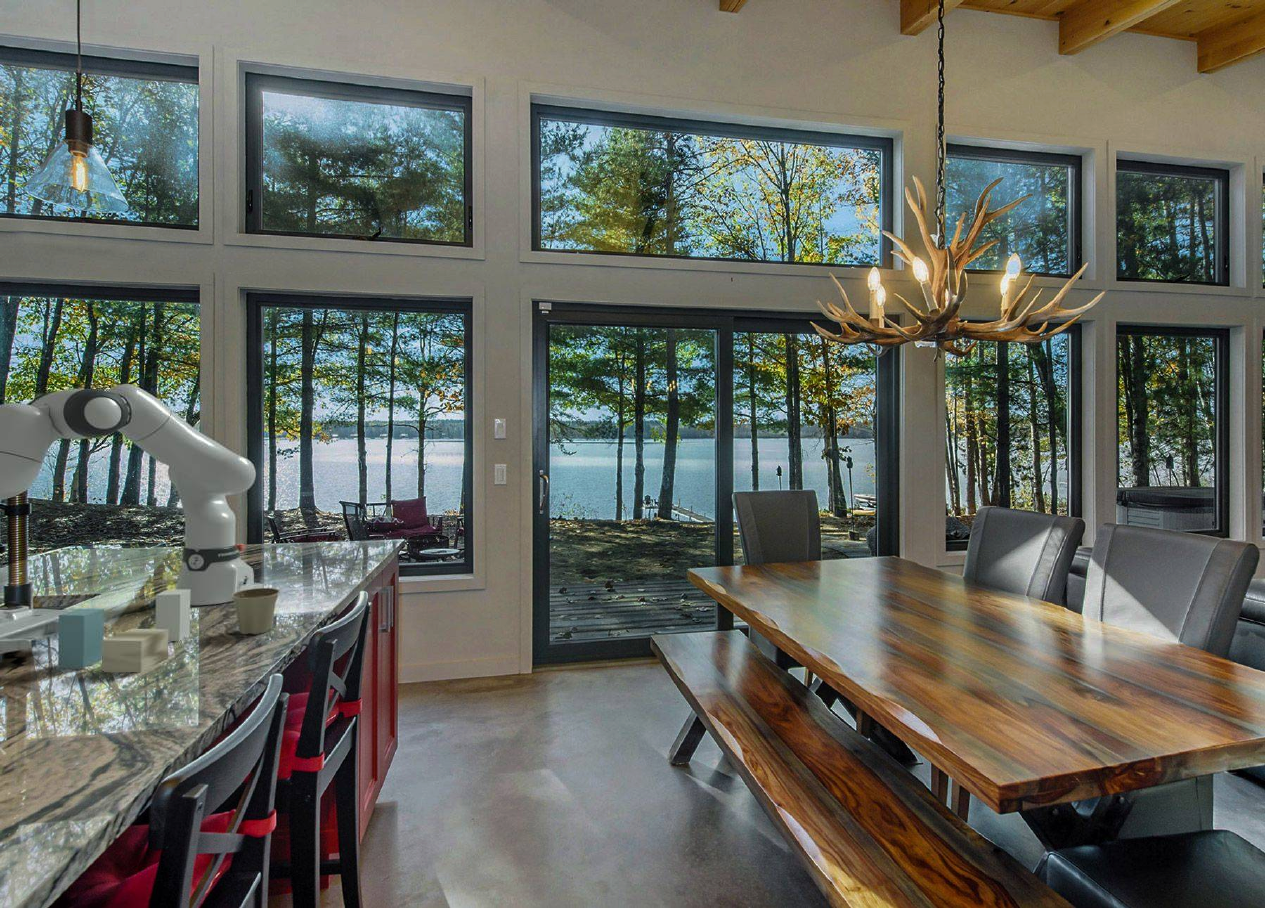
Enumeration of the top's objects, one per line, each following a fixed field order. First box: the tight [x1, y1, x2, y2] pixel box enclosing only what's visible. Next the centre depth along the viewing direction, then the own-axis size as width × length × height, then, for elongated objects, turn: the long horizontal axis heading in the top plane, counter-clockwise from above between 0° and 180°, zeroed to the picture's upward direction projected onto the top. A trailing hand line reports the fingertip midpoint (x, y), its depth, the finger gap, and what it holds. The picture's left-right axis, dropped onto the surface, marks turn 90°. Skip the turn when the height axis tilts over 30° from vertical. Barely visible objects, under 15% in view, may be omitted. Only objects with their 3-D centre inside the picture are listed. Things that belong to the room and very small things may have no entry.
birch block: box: [101, 628, 169, 673], centre depth 117 cm, size 7×7×6 cm
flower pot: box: [231, 587, 281, 635], centre depth 140 cm, size 9×9×9 cm
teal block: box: [57, 608, 105, 670], centre depth 117 cm, size 4×4×10 cm
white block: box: [154, 589, 191, 642], centre depth 133 cm, size 4×4×10 cm
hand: (55, 635), depth 117 cm, fingers open, 8 cm apart
